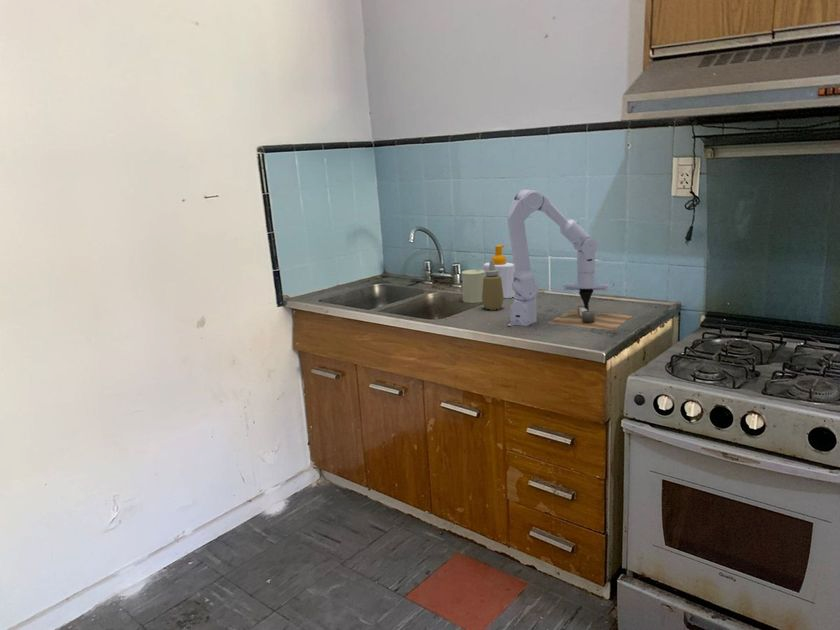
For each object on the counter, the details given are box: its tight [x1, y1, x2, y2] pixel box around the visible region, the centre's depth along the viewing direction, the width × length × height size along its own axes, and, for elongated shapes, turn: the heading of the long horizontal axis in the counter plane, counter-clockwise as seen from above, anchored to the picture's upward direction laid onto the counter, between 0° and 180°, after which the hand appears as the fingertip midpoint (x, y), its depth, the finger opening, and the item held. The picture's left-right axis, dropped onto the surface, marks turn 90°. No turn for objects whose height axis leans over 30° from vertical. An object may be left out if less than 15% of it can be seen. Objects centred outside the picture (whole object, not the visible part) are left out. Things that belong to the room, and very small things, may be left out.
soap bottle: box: [483, 244, 515, 299], centre depth 250 cm, size 13×8×20 cm, turn 57°
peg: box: [577, 305, 595, 323], centre depth 208 cm, size 13×4×3 cm, turn 0°
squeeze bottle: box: [482, 259, 505, 311], centre depth 231 cm, size 8×8×18 cm
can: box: [461, 269, 485, 304], centre depth 247 cm, size 9×9×12 cm
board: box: [547, 309, 633, 331], centre depth 207 cm, size 19×22×1 cm
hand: (586, 311), depth 213 cm, fingers closed, pressing on peg
